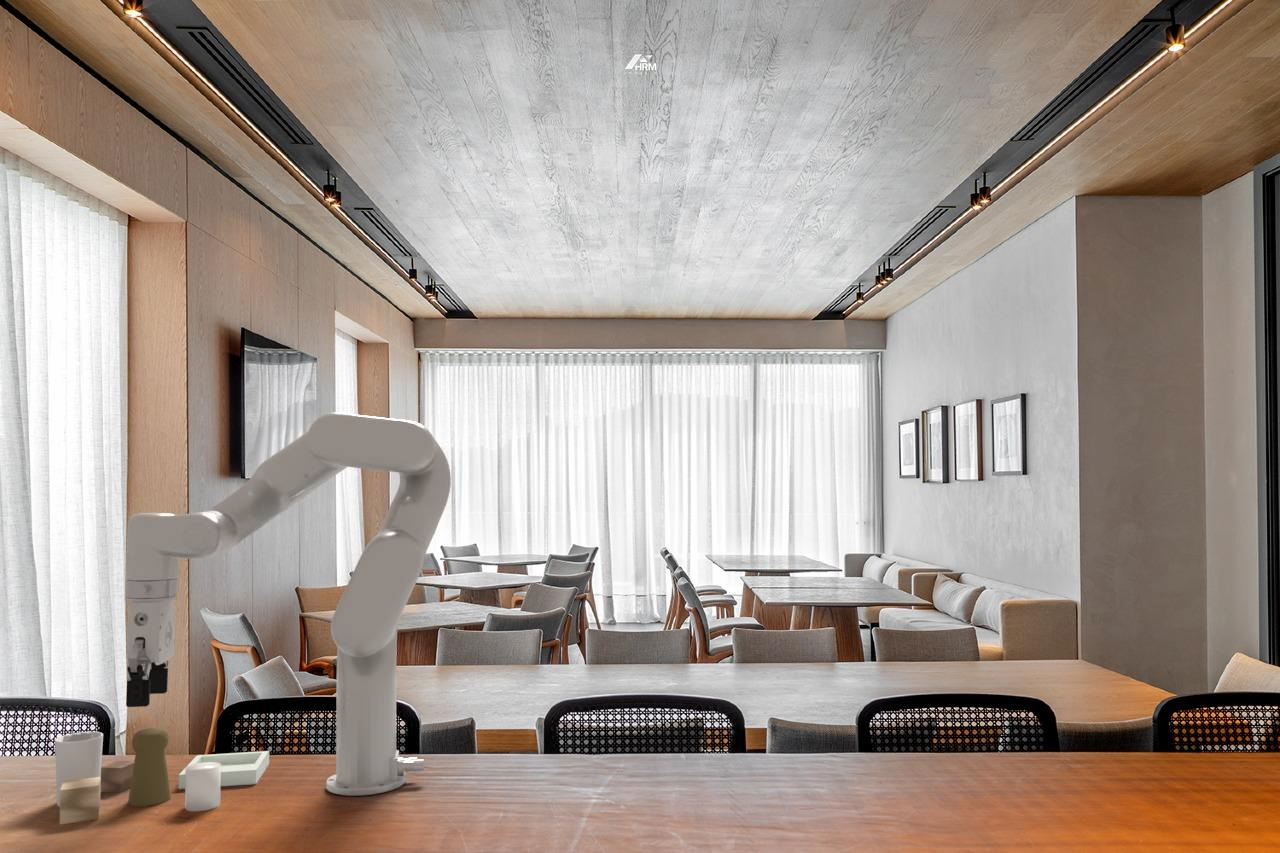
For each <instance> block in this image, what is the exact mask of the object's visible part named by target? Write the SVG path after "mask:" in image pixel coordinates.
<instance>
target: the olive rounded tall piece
mask: <svg viewBox="0 0 1280 853" xmlns="http://www.w3.org/2000/svg"><path fill="white" fill-rule="evenodd" d="M169 738H170V737H169V733H168V731H167V730H166V729H164V728H161V727H149V728H143V729H141V730H138V731H137V732H135V733H134V735H133V737H132V739H131V745H132V749H133V750H134V752H135V756H134V760H133V761H134V768H133V774H132V781H131V787H130V789H129V794H128V800H127V803H128V805H129V806H131V807H150V806H156V805H160V804H164V803H166V802H168V801H170V800H171V798H172V796H171V788H170V781H169V774H168V773H169V772H168V767H167V766H168V765H167V764H168V763H167V757H166V751H165V749H166V747H168V743H169V741H170V739H169Z"/></svg>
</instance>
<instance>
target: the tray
mask: <svg viewBox="0 0 1280 853" xmlns="http://www.w3.org/2000/svg"><path fill="white" fill-rule="evenodd" d="M203 762H217V763H220V764H221V787H230V786H232V787H233V786H247V785H248V786H249V785H257V784H258V782H259V781H260V779H261V777H262V776H263V775H264V773H265V771H266V770H267V768H268V766H269V765H270V751H269V750H264V751H263V750H262V751H247V752H229V753H216V754H215V753H214V754H198V755H197V754H196V756H195V757H194V758H193V759H192V760H191V761H190V762H189V763H188V765H186V767H188V766H190V765H193V764H197V763H203ZM178 790H185V768H183V770H181V772H180V773H179V774H178Z"/></svg>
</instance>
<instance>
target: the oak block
mask: <svg viewBox="0 0 1280 853" xmlns="http://www.w3.org/2000/svg"><path fill="white" fill-rule="evenodd" d="M101 793H102V792H101V777H95V778H87V779H79V780H71V781H63V784H62V787H61V790H60V807H59V825H67V824H73V823H74V824H75V823H81V822H87V821H88V822H89V821H94V820H99V818H100V814H101V813H100V812H101Z"/></svg>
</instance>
